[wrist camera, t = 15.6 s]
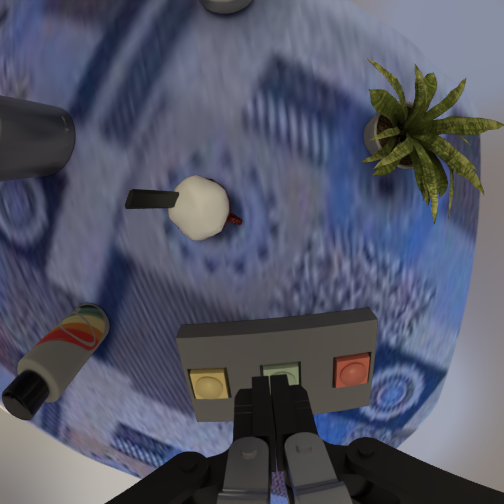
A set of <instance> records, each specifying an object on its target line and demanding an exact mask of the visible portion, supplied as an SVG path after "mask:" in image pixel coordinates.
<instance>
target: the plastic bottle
mask: <svg viewBox="0 0 504 504" xmlns="http://www.w3.org/2000/svg"><path fill="white" fill-rule="evenodd" d="M199 1H200V2H201V3H202V4H203V6H204V7H205V8H206V9H208V10H210V11H212V12H214V13H219V14H227V13H233V12H237V11H239V10H241V9H243V8H245V7H246V6H247V5H248V4H249V3H250V2H251V1H252V0H199Z"/></svg>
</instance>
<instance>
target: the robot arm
mask: <svg viewBox="0 0 504 504" xmlns="http://www.w3.org/2000/svg"><path fill="white" fill-rule="evenodd" d="M74 141H75V131H74V125H73V122H72V119H71V118H70V116H69V114H68V113H67V112H66V111H65V110H63V109H61V108H59V107H55V106H50V105H46V104H42V103H37V102H32V101H27V100H22V99H17V98H12V97H6V96H1V95H0V182H2V181H8V180H16V179H23V178H32V177H40V176H48V175H52V174H54V173H56V172H58V171H59V170H60V169H61V168H62V167H63V166H64V165H65V164H66V162H67V161H68V159H69V157H70V155H71V153H72V150H73V146H74ZM270 392H271V394H270ZM275 449H276V452H275ZM276 459H277V468H278V471H284V486H285V492H286V496H287V500H288V504H504V493H503V492H500V491H497V490H494V489H492V488H489V487H486V486H483V485H480V484H478V483H475V482H472V481H469V480H467V479H464V478H462V477H459V476H457V475H454V474H452V473H449V472H447V471H444V470H442V469H440V468H437V467H435V466H433V465H430V464H428V463H426V462H423V461H421V460H419V459H416V458H415V457H412V456H410V455H408V454H406V453H404V452H402V451H399V450H397V449H395V448H393V447H391V446H389V445H387V444H385V443H383V442H381V441H379V440H377V439H374V438H369V437H363V438H358V439H356V440H354V441H352V442H351V443H350V444H349V445H348V446H343V445H333V444H330V443H327V442H325V441H324V440H323V439H321V438H320V436H319V435H318V432H317V429H316V425H315V421H314V417H313V413H312V409H311V405H310V401H309V397H308V393H307V391H306V390H305V389H304V388H303V387H302V386H301V385H300V384H297V385H289V382H288V377H287V374H280V375H270V385H269V376H254V377H252V388H247V389H239V391H238V392H237V394H236V395H235V398H234V427H233V442H232V444H231V446H230V447H229V449H228V450H226V451H225V452H223V453H221V454H219V455H216V456H212V457H208V458H206V457H205V456H203V455H202V454H200V453H197V452H191V451H189V452H182V453H180V454H177V455H176V456H174V457H173V458H172V459H170V460H169V461H167V462H166V463H165V464H163V465H162V466H161V467H159V468H158V469H156V470H155V471H153V472H152V473H151V474H149V475H148V476H146V477H145V478H143V479H142V480H140V481H139V482H138V483H136V484H134V485H133V486H131V487H130V488H129V489H127V490H125V491H124V492H122V493H121V494H119V495H118V496H116V497H114V498H113V499H111V500H110V501H108V502H107V503H105V504H270V498H271V485H272V472H276Z"/></svg>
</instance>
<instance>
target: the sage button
mask: <svg viewBox="0 0 504 504" xmlns="http://www.w3.org/2000/svg"><path fill="white" fill-rule="evenodd" d="M263 373H264V376H269V385H270V375H280V374H287V377H288V382H289V385H297V384H299V376H298V363H297V362H290V363H280V364H269V365H263ZM270 394H271V392H270Z"/></svg>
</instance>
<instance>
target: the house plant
mask: <svg viewBox="0 0 504 504" xmlns="http://www.w3.org/2000/svg"><path fill="white" fill-rule="evenodd" d="M368 60H369V59H368ZM369 62H370V63H372V64H373V65H374V66H375V67H376V68H377V69H378V70H379V71H380V72H381V73H382V74H383V75H384V76H385V77H386V79H387V80H388V81H389V82H390V84H391V85H392V86H393V87H394V89H395V91H396V92H397V94H398V96H399V99H400V101H397V100H396V99H395V98H394V97H393V96H392V95H390V94H389V93H388V92H387V91H385V90H370V89H369V91H370V98H371V103H372V105H373V107H374V108H375V110H376V111H377V112H378V113H377V114H376V115H375V116H374V117H373V118H372V119H371V120H370V121H369V122H368V123H367V125H366V126H365V129H364V132H363V139H364V144H365V146H366V148H367V150H368V151H369V152H370V154H372V156H370V157H368V158H366V159H365V160H364V161H363V162H362V163H367V162H372V161H376V160H379V159H381V161H380V162H379V163H378V164H377V165H376V166H375V168H377V170H376V171H375V173H374V174H373V175H386V174H389V173H391V172H392V171H394V169H395V168H396V167H399V168H403V169H414V171H415V177H416V181H417V184H418V187H419V189H420V191H421V193H422V196H423V200H424V198H425V197H426V204H427V207H428V205H429V202H430V198H431V206H432V216H433V220H434V223H435V221H436V215H437V209H438V193H439V195H440V197H441V196H442V195H443V194H444V193H445V191H446V189H447V186H448V180H447V176H446V173H445V171H444V169H443V167H442V164H441V162H440V161H439V159H438V158H437V156H438V157H440V158H441V159H442V160H443V161H444V162H445V163H446V164H447V165H448V167H449V169H450V198H449V214H450V208H451V202H452V197H453V191H454V175H453V170H454V171H455V172H456V173H457V174H459V175H461V176H463V177H465V178H467V179H468V180H469V181H470V182H471V183H472V184H473V185H474V186H475V187H476V188H477V189H478V190H479V191H481V192H482V193H483V194H484V191H483V188H482V185H481V183H480V180H479V178H478V177H477V175H476V174H475V172H474V171H473V169H472V168H474V169H476V168H475V167H474V166H473V165H472V164H471V163H470V162H469V160H468V159H467V158H466V157H464V156H463V155H462V154H461V153H459V152H458V151H457V150H456V149H455V148H454V147H453V146H452V145H451V144H450V143H449V142H447V141H446V140H445V139H443V138H442V137H440V136H438V135H440V134H459V135H460V136H461V137H462V138H463V139H464V140H465V141H466V142H467V140H466V139H465V138H464V137H463V135H462V134H465V135H478V134H481V133H483V132H485V131H487V130H492V129H499V128H500V127H502V126H504V124H502V123H499V122H497V121H494V120H490V119H484V118H471V117H460V116H450V117H447V118H444V119H438V120H433V119H435V118H437V117H438V116H440V115H441V114H443V113H444V112H445V111H447V110H448V109H450V108H451V107H452V106H453V105H454V104H455V103H456V102H457V100H458V99H459V97H460V96H461V94H462V92H463V90H464V87H465V82H466V78H465V79H464V80H462V81H461V82H460V84H459V86H458V87H457V88H455V89H453V90H452V91H451V92H450V93H449V94H448V95H447V97H446V98H445V99H444V100H443V101H442V102H440V103H439V104H437V105H436V106H434V107H433V108H431V109H430V110H429V111H427V109H428V107H429V105H430V102H431V100H432V98H433V96H434V94H435V92H436V89H437V81H436V77H435V74H434V72H433V73H430V74H427V75H426V76H425V78H424V79H423V76H422V73H421V71H420V70H419V69H418V67H417V66H416V65H415V74H416V81H415V91H416V93H415V100H414V103H411V102H407V101H405V96H404V92H403V89H402V86H401V85H400V83H399V81H398V79H397V78H396V77H395V76H393V75H392V74H391V73H390V72H388V71H387V70H385V69H384V68H383V67H382V66H380V65H379V64H378V63H376V62H374V61H371V60H369ZM426 111H427V112H426ZM467 143H468V142H467ZM468 144H469V143H468ZM469 145H470V144H469ZM470 146H471V145H470ZM471 147H472V146H471ZM435 154H436V155H437V156H436V155H435ZM372 169H374V168H372ZM434 172H435V173H434ZM448 219H449V215H448ZM433 226H434V225H433Z"/></svg>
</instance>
